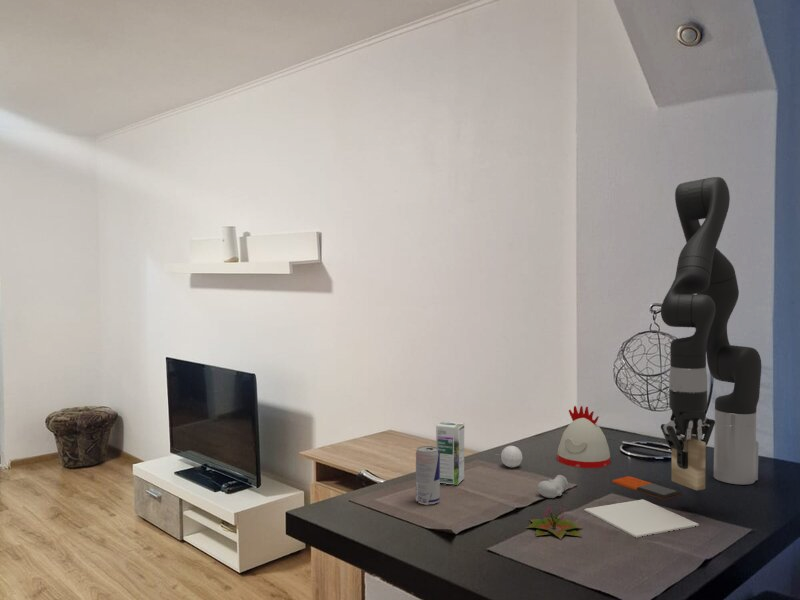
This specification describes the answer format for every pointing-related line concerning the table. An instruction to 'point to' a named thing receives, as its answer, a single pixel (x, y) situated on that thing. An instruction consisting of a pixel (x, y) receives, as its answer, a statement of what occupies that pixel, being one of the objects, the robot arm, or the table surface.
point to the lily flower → (548, 522)
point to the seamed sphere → (511, 456)
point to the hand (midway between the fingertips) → (688, 466)
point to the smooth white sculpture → (553, 487)
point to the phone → (647, 487)
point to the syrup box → (451, 451)
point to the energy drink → (428, 474)
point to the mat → (640, 518)
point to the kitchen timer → (583, 442)
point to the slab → (691, 466)
